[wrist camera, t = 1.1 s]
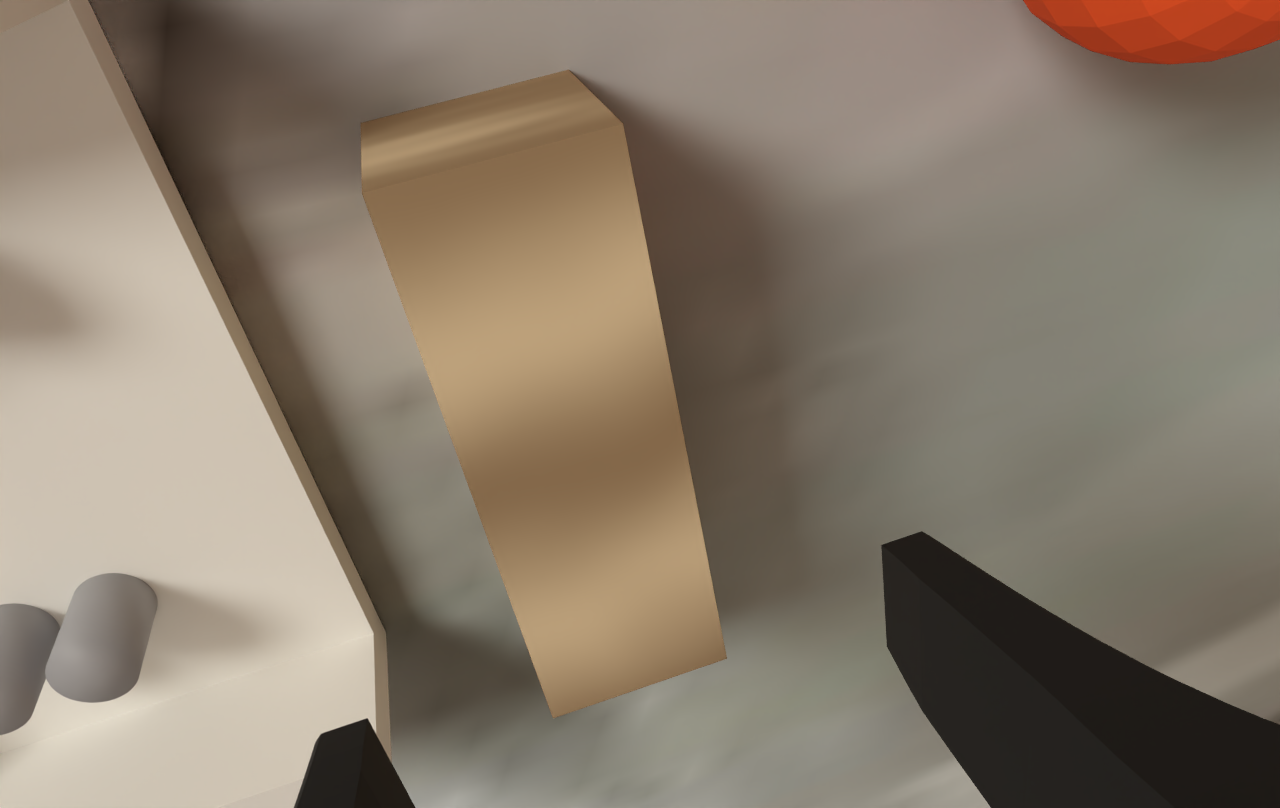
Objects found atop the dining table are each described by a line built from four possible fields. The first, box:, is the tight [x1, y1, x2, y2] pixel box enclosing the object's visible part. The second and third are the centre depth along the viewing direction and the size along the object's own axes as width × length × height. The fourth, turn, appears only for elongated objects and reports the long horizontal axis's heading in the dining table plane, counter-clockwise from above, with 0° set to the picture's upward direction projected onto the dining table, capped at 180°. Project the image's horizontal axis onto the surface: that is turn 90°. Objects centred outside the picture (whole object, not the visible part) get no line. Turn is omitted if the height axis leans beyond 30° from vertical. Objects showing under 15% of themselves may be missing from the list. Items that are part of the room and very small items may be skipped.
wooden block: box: [361, 70, 727, 718], centre depth 19 cm, size 12×4×4 cm, turn 11°
